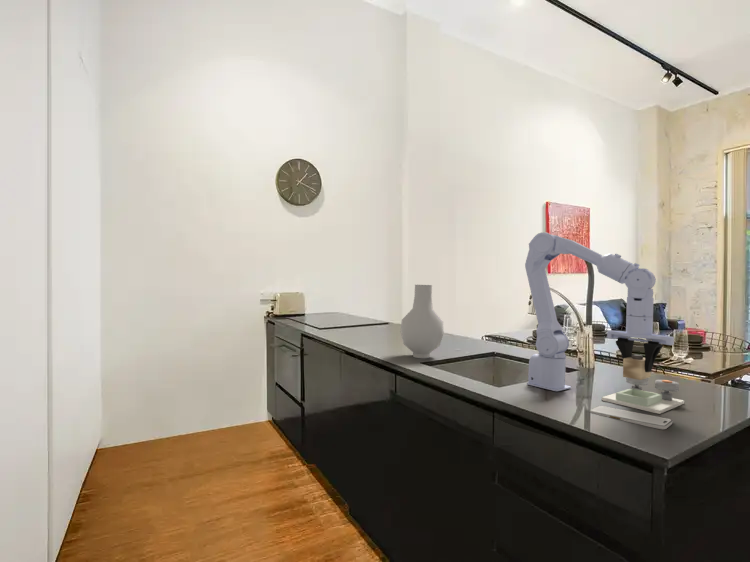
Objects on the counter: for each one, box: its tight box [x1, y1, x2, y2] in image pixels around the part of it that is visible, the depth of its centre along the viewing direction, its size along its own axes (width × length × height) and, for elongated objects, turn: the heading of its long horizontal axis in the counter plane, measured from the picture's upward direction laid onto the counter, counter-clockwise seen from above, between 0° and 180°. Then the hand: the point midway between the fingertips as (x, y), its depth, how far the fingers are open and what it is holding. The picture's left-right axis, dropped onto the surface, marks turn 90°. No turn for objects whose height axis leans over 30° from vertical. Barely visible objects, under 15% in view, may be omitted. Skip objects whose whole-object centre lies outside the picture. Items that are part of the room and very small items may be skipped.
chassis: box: [601, 377, 685, 415], centre depth 107 cm, size 13×16×6 cm
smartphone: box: [589, 405, 673, 430], centre depth 94 cm, size 7×1×15 cm
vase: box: [400, 284, 445, 359], centre depth 163 cm, size 17×16×28 cm
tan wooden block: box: [622, 354, 652, 380], centre depth 105 cm, size 4×6×5 cm, turn 127°
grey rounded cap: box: [654, 379, 680, 393], centre depth 108 cm, size 5×5×3 cm
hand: (638, 370), depth 106 cm, fingers closed on tan wooden block, 4 cm apart
